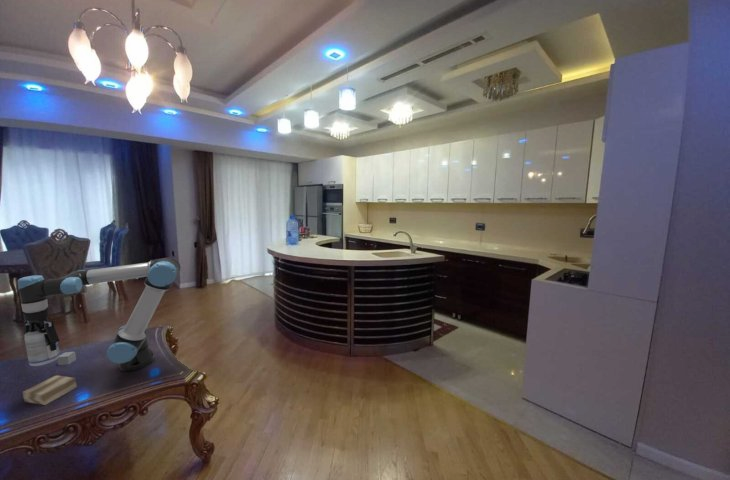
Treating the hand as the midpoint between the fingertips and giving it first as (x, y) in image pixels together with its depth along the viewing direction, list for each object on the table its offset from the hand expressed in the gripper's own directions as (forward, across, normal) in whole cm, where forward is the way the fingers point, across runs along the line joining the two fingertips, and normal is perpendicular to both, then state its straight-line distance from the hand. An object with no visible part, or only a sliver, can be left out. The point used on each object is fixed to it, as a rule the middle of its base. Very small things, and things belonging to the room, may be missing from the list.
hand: (44, 355), depth 128 cm
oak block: (+20, 0, 0) cm, 20 cm away
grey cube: (+20, +24, -22) cm, 38 cm away
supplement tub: (+3, 0, 0) cm, 3 cm away
